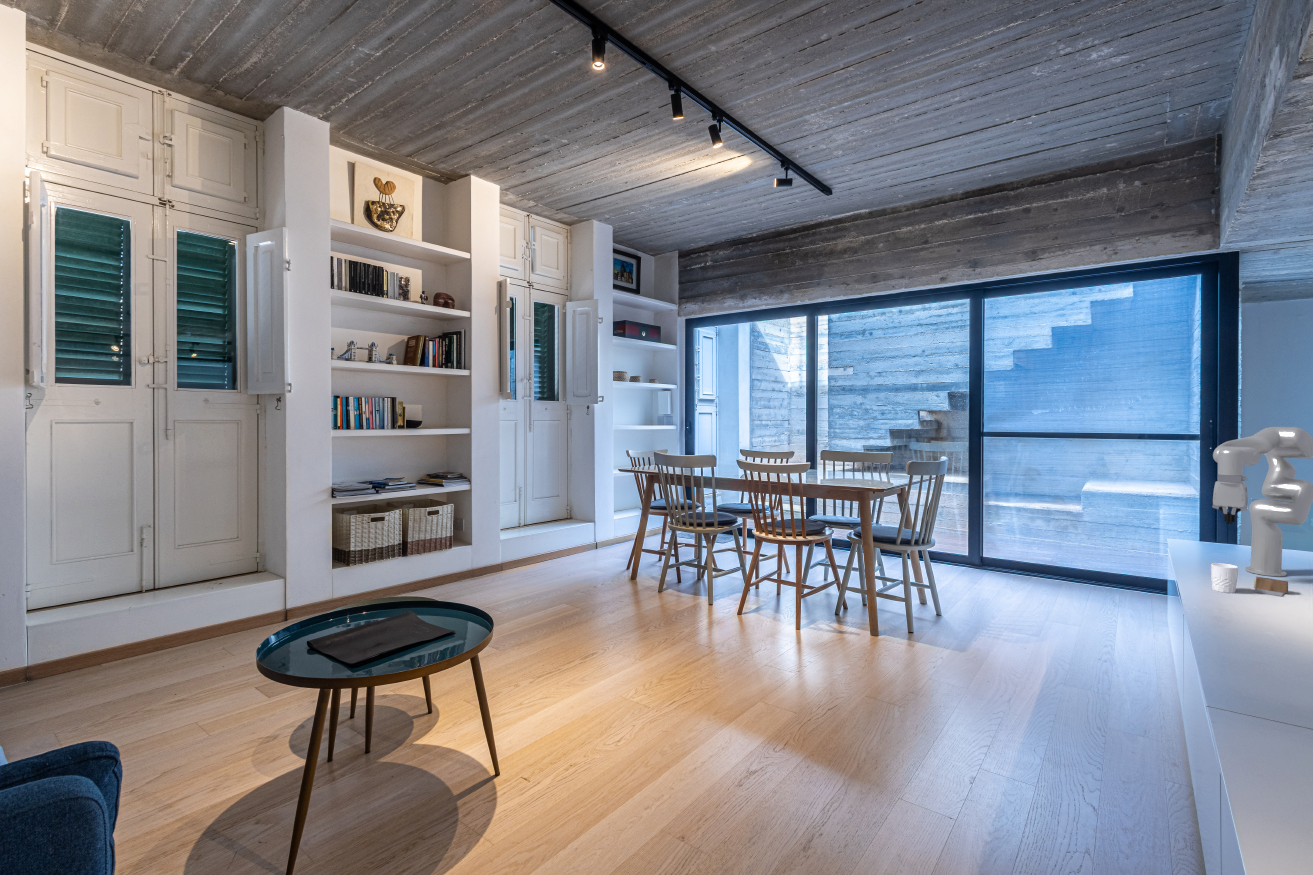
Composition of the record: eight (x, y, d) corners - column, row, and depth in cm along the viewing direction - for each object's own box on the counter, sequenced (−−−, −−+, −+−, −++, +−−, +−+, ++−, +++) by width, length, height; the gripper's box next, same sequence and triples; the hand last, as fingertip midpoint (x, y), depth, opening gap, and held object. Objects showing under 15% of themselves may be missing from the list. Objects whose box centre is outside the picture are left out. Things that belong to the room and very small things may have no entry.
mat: (1260, 585, 248) (1260, 584, 248) (1286, 589, 242) (1286, 588, 242) (1254, 592, 239) (1254, 591, 239) (1281, 596, 233) (1281, 595, 233)
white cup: (1226, 587, 245) (1227, 562, 245) (1243, 593, 237) (1243, 568, 237) (1204, 587, 246) (1205, 562, 245) (1220, 593, 238) (1221, 567, 237)
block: (1256, 576, 245) (1288, 581, 238) (1255, 586, 245) (1287, 591, 238) (1254, 578, 243) (1286, 582, 236) (1253, 588, 243) (1286, 593, 236)
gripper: (1256, 479, 248) (1256, 524, 250) (1207, 476, 260) (1207, 520, 261) (1254, 481, 244) (1253, 527, 245) (1204, 478, 255) (1203, 522, 256)
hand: (1229, 523), depth 253 cm, fingers closed
